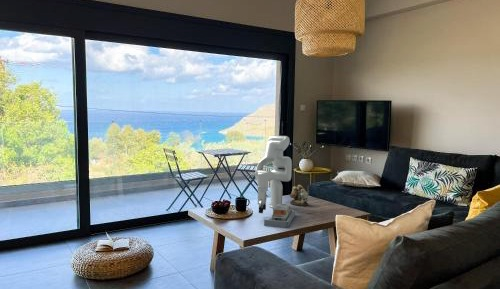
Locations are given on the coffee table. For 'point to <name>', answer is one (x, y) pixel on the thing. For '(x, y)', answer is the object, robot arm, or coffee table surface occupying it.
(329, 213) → the coffee table surface
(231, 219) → the coffee table surface
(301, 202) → the owl figurine
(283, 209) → the toy car
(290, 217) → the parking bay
